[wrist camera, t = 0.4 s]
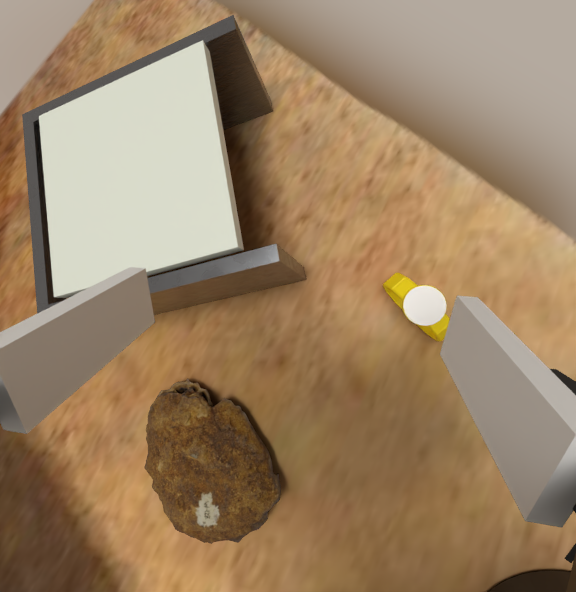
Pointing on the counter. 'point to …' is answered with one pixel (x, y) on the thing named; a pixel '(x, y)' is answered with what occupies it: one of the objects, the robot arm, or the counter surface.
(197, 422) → the decorative rock
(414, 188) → the counter surface
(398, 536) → the counter surface
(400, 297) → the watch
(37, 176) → the stand
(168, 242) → the trapdoor
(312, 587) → the counter surface
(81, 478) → the counter surface
